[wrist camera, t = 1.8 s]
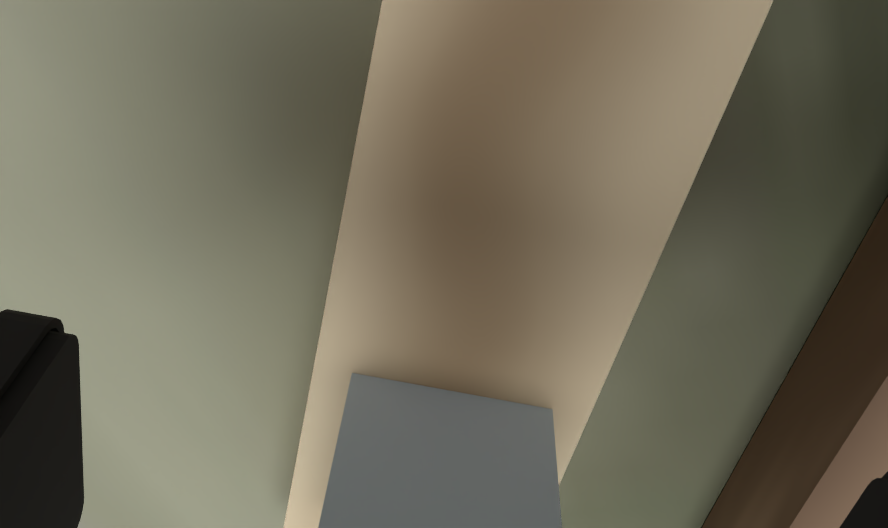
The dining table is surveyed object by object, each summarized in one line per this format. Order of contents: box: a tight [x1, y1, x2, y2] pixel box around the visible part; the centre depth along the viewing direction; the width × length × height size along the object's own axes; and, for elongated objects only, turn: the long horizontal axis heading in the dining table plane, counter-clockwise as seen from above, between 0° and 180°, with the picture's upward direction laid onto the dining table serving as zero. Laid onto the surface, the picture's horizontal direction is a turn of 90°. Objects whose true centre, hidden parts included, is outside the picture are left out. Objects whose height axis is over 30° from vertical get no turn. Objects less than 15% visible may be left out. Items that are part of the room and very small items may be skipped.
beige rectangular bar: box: [284, 0, 773, 528], centre depth 18 cm, size 6×18×4 cm, turn 167°
